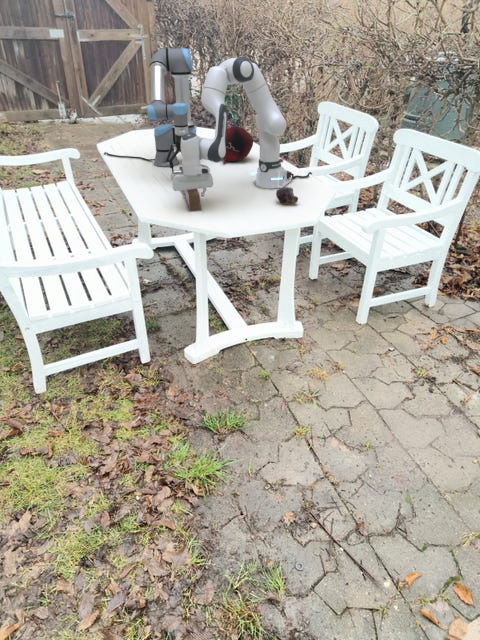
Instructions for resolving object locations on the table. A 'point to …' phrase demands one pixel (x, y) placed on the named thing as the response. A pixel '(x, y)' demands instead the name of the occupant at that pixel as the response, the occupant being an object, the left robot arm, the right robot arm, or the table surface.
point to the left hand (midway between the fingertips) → (184, 173)
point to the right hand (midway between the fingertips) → (193, 197)
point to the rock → (286, 195)
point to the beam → (192, 198)
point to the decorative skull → (237, 144)
